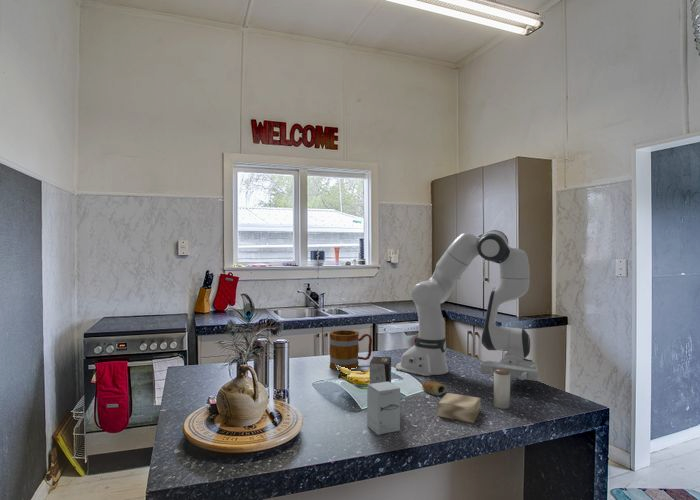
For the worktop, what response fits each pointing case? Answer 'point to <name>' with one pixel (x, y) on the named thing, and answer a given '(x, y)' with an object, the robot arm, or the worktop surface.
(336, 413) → the worktop surface
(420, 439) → the worktop surface
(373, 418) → the supplement box
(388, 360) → the coffee box
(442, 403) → the riser
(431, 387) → the pastry
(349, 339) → the mug
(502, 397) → the spice jar
